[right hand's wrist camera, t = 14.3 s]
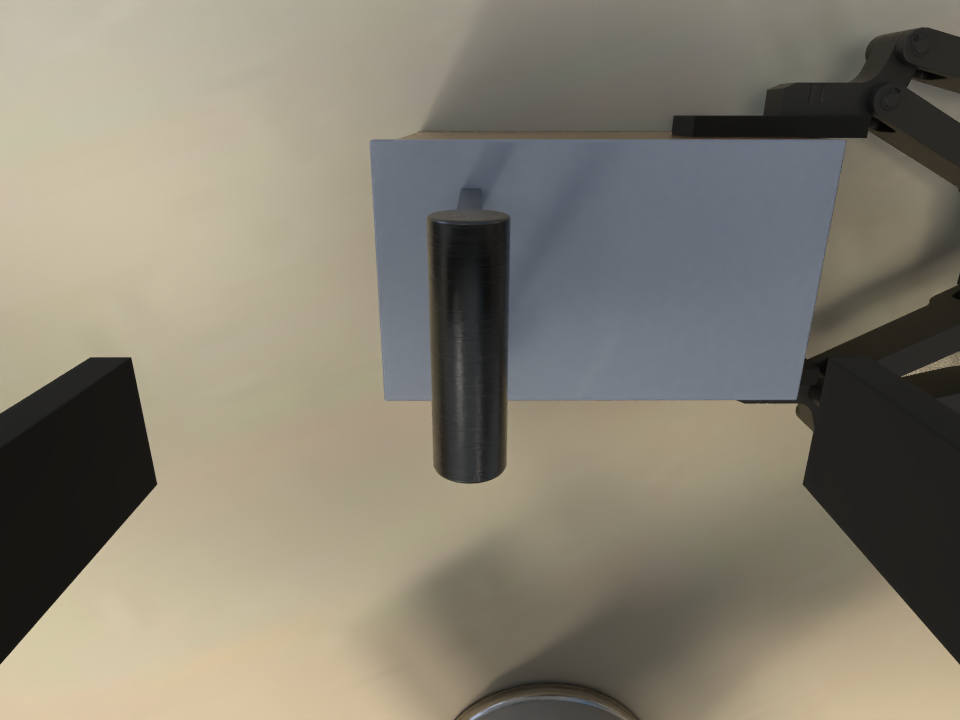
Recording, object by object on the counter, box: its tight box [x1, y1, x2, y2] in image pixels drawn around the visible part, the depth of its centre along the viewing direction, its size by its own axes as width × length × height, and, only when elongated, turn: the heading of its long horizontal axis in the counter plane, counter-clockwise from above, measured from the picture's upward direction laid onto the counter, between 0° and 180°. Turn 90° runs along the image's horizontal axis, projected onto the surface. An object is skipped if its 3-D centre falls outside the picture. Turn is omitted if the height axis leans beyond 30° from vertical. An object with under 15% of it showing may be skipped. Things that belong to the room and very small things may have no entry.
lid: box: [370, 139, 846, 483], centre depth 19 cm, size 16×9×9 cm, turn 90°
